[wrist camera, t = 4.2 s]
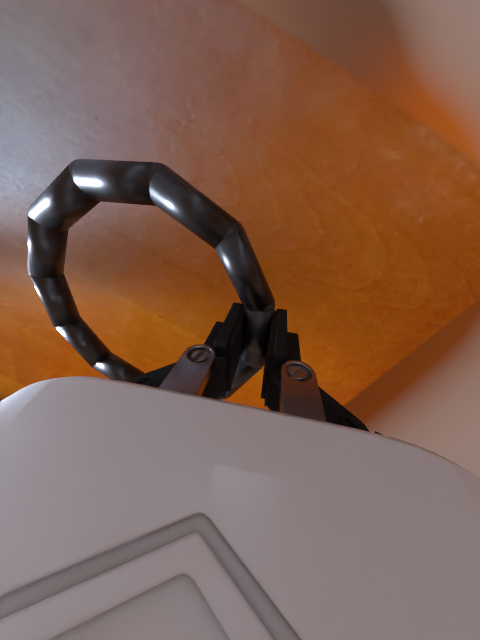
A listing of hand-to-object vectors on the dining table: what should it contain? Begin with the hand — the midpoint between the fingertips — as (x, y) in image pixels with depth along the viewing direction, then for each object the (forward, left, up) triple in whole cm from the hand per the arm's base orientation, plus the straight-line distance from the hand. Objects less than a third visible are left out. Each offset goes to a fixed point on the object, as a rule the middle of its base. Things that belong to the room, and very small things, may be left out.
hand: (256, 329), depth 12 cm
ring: (0, -7, 0) cm, 7 cm away
